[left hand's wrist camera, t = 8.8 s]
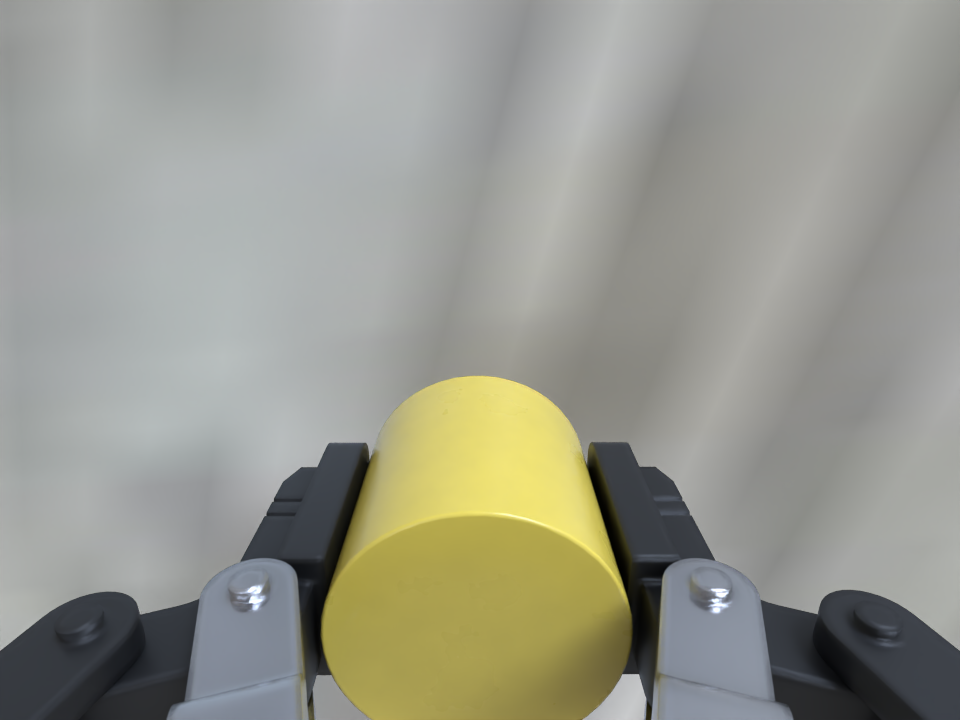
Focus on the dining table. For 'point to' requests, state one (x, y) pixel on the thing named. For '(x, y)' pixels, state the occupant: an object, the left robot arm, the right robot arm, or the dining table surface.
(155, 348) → the dining table surface
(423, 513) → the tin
